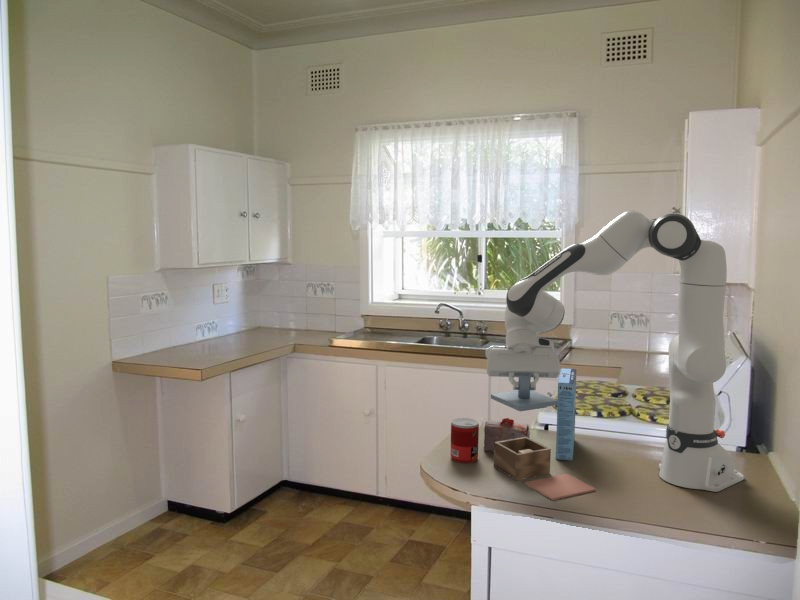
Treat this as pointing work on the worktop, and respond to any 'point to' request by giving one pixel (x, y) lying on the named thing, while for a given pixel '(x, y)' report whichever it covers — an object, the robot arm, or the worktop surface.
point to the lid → (524, 397)
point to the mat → (560, 486)
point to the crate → (522, 458)
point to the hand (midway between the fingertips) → (524, 389)
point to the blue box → (566, 414)
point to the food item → (503, 432)
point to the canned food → (464, 440)
